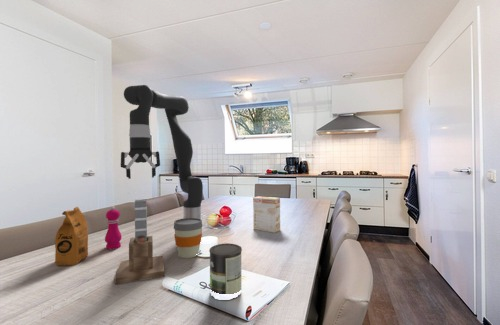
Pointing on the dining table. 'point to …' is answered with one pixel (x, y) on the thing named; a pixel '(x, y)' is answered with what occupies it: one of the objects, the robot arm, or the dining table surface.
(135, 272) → the stand
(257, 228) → the coffeecake box
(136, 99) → the robot arm
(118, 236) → the pepper mill
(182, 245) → the reusable coffee cup
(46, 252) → the dining table surface
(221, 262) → the coffee can
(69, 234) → the coffee package
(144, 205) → the column
